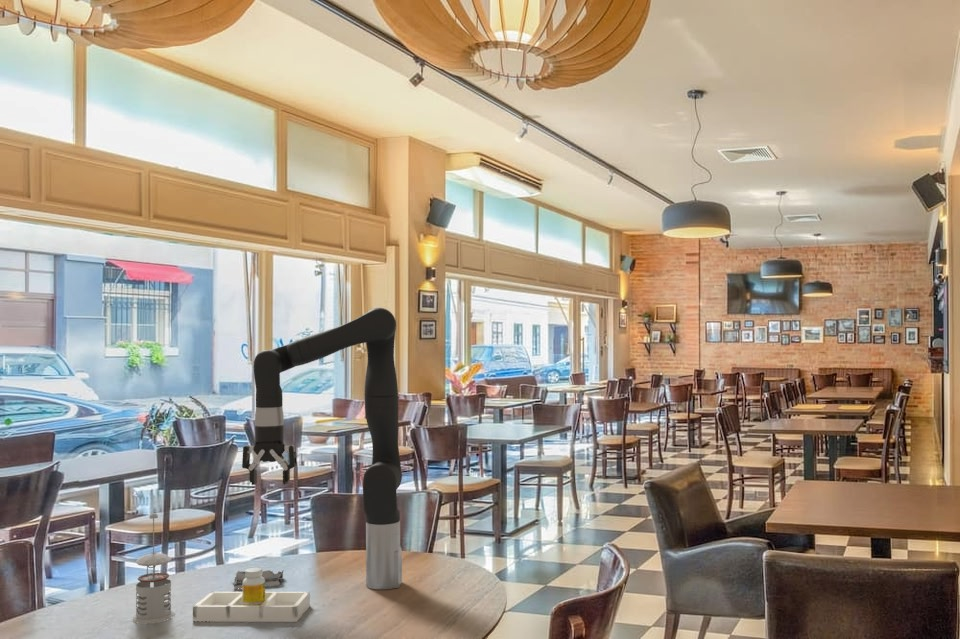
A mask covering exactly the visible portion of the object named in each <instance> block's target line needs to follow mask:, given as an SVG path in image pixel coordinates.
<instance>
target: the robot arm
mask: <svg viewBox="0 0 960 639" xmlns="http://www.w3.org/2000/svg"><path fill="white" fill-rule="evenodd" d="M396 330H397V321H396V318H395V316H394V314H393V313H392V312H391V311H390V310H388V309H386V308H383V307H375V308H371V309H370V310H368V311H367V312H366V313H364V314H362V315H361V316H359V317H358V316H357V318H354V319H353V320H351V321H348V322H346V323H344V324H341V325H339V326H336V327H332V328H329V329H326V330H322V331H319V332H316V333H312V334H310V335H307V336H303V337H301V338H297V339H295V340H293V341H291V342H289V343H288V344H284V345H282V346H278V347H275V348H271V349H266V350H261V351H260V352H258V353H257V354H256V355H255V357H254V360H253V376H254V377H253V379H254V384H255V413H254V445H249V444H246V445H245V446H243V447H242V459H241V460H242V461H241V463H242V464H241V467H242V469H246V470H248V472H249V483H251V485H254V486H255V485H257V483H258V479H257V478H258V476H257V475H258V473H257V471H258V470H257V467H258V466H259V464H261V463H262V462H263V463H266V462H271V463H275V462H277V463H278V465H280V467H281V468H282V469H283V470H282V485H287V484H288V483H289V482H290V480H291V469H293V468H296V467H297V465H298V464H297V463H298V462H297V461H298V460H297V447H296V445H295V444H292V445H291V444H290V445H285V442H284V441H285V440H284V439H285V437H284V434H285V432H284V431H285V429H284V426H285V425H284V420H285V418H284V409H283V389H282V386H281V373H283V372H285V371H288V370H290V369H293V368H295V367H298V366H304V365H306V364H309V363H312V362H315V361H318V360H322V359H323V358H326V357H328V356H331V355H332V354H334V353H337V352H340V351H342V350H344V349H347V348H350V347H353V346H356V345H360V344H365V345H366V353H367V363H366V373H365V381H364V414H365V419H366V424H367V428H368V431H369V434H370V437H371V443H372V444H371V445H372V456H371V457H372V459H371V461H372V462H371V465H370V466H368V468H367V469H366V470H365V471H364V473H363V477H362V478H363V479H362V502H363V504H362V505H363V506H362V507H363V512H364V515H365V554H366V555H365V557H366V558H365V560H366V561H365V563H366V564H365V565H366V566H365V569H366V571H365V572H366V574H365V575H366V576H365V580H366V584H365V585H366V587H367V588H369V589H371V590H390V589H399V588H400V586H401V584H402V582H403V567H402V566H403V564H402V563H403V561H402V560H403V559H402V556H403V552H402V546H401V515H400V514H401V511H400V510H399V508H398V504H397V503H398V500H397V498H398V497H397V490H398V488H399V487H400V486H401V484H402V479H403V474H402V466H401V457H400V449H399V409H400V408H399V387H398V379H397V378H398V377H397V371H396V366H395V365H396V364H395V340H396ZM285 451H286V453H287V454H288V456H289V462H288V461H287V459H286V458H285V456H284V455H283V454H284V452H285ZM253 452H254V453H255V455H256V457H255V458H253V460H252V462H250V460H251V454H252V453H253Z"/></svg>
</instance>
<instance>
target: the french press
mask: <svg viewBox="0 0 960 639" xmlns="http://www.w3.org/2000/svg"><path fill="white" fill-rule="evenodd" d="M158 516H159V515H158V514H157V513H155V512H153V513H151V514H150V515H149V519H152V552H151V553H146V554H144V555H142V556H140V557H139V558H138V559H136V560H135V564H137V565H138V566H142V567H146V573H145V574H142V575H140V576H138V578H137V580H138V581H139V582H137V583H136V585H135V591H136V593H135V597H136V598H135V615H134V616H133V617H132V618H133V619H131V621H132V620H133V621H134V622H133V621H132V622H133V623H135V622H138V623H137V624H139V623H146V624H145V625H147V624H148V623H150V624H157V623H156V622H158V623H161V622H160V621H163V622H165V621H164V620H166V621H168V620H167V619H169V620H171V619H172V618H171V617H173V616H174V615H176V613H175V612H174V611H173V610H172V593H171V592H172V588H171V587H172V581H171V580H170V579H168V578H169V577H170V574H169V573H167V572H156V567H157V566H160V565H161V566H162V565H165V564H168V563H170V562H171V560H172V557H171V556H169V555H168V554H165V553H161V552H155V519H157V518H158ZM149 569H152V572H149ZM151 583H153V586H151ZM174 617H175V616H174ZM174 617H173V618H174ZM170 618H171V619H170ZM148 625H149V624H148Z"/></svg>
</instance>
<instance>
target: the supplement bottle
mask: <svg viewBox="0 0 960 639" xmlns="http://www.w3.org/2000/svg"><path fill="white" fill-rule="evenodd" d="M244 572H245V576H246V578H245V579H244V580H242V581H243V583H242V589H241V590H242V591H241V592H242V605H247V606H260V605H261V604H262V603H263V602H264V601H265V592H266V587H265V580H266V579H264V578H263V577H262V576H261V575H262V572H263V568H261V567H249V568H247V569H245V571H244Z"/></svg>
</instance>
